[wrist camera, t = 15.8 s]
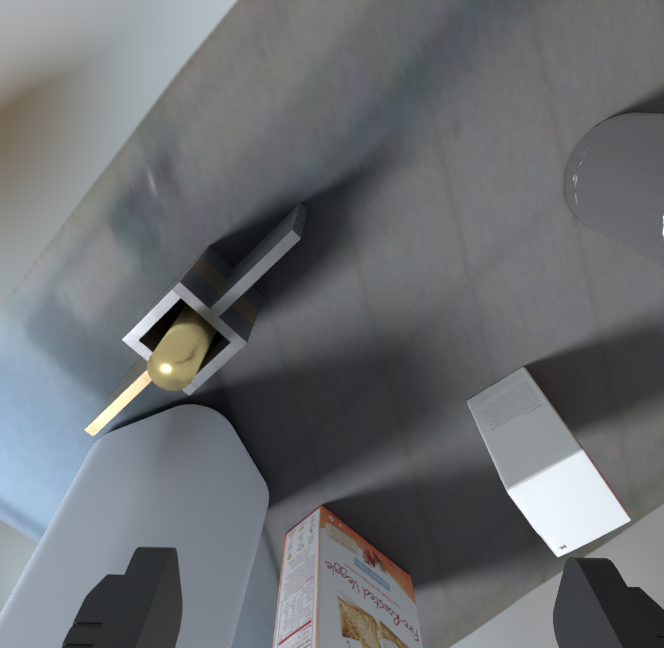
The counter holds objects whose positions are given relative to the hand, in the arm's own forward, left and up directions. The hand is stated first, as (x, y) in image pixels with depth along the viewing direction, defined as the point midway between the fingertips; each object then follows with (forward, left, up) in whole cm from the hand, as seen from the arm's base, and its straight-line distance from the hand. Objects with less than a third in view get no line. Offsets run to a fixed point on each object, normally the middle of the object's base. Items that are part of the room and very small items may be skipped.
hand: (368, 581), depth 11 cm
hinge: (+11, +7, -36) cm, 38 cm away
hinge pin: (+11, +7, -36) cm, 38 cm away
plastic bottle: (+15, +26, -36) cm, 47 cm away
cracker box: (-2, +36, -36) cm, 51 cm away
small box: (-17, +18, -36) cm, 44 cm away
